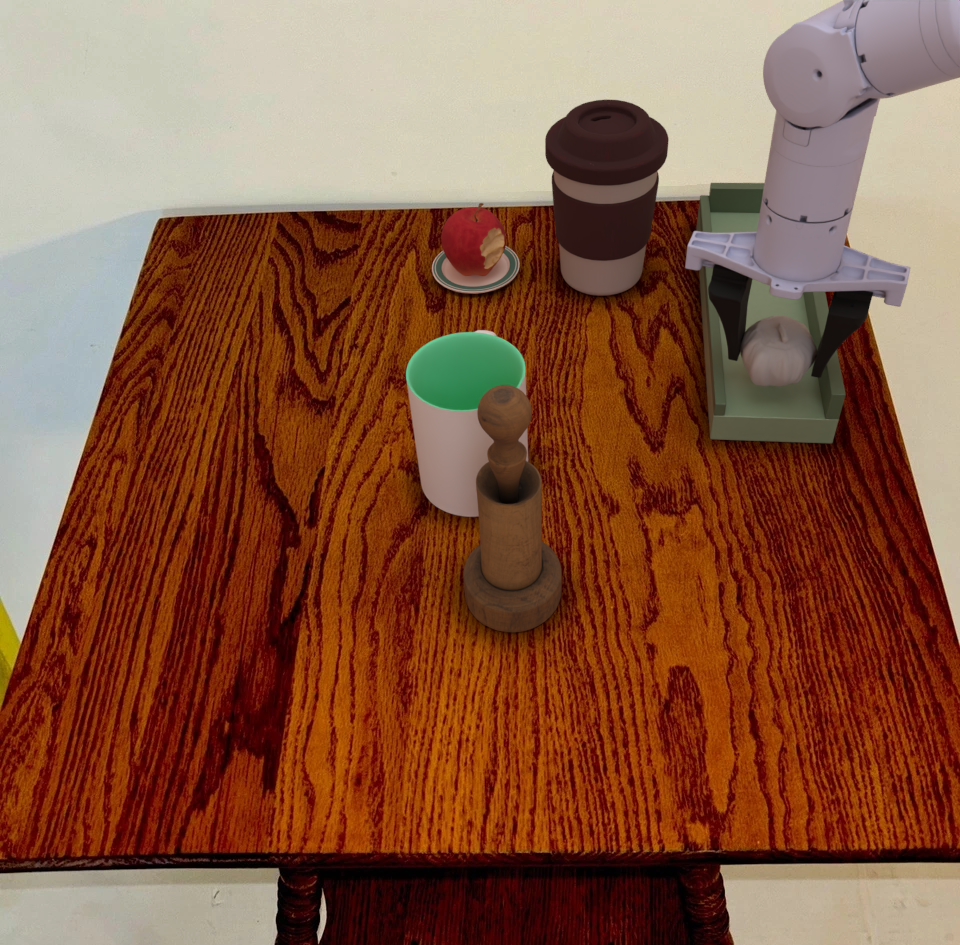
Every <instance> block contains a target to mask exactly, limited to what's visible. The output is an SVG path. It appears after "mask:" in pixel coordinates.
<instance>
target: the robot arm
mask: <svg viewBox="0 0 960 945" xmlns="http://www.w3.org/2000/svg"><path fill="white" fill-rule="evenodd" d="M765 54H766V55H765V57H764V61H763V68H762V69H763V70H762V79H763V85H764V89H765V93H766V95H767V97H768V100H769V102H770V103H771V105H772V107H773V108H774V109H775V116H774V120H773V121H774V122H773V126H772V134H771V140H770V146H769V153H768V159H767V160H768V161H767V165H766V171H765V177H764V182H763V183H764V189H763V196H762V203H761V209H760V215H759V221H758V227H757V232H735V233H709V232H700V231H696V230H694V231H693V232H692V234H691V237H690V239H689V241H688V243H687V247H686V255H685V256H686V257H685V265H684V268H685V269H686V270H691V271H699V270H700V269H701V268H702V266H706V267H711V268H713V273H712V277H711V282H710V284H709V287H708V294H709V299H710V301H711V302H712V304H713V305H714V307H715V309H716V311H717V313H718V315H719V317H720V319H721V322H722V325H723V328H724V332H725V336H726V341H727V347H728V359H729V360H734V361H737V360H738V357H739V354H740V347H741V342H742V339H743V337H744V334H745V330H746V318H747V306H748V300H749V295H750V289H751V284H752V279H755V280H757V281H759V282H762V283H764V284H766V285H769V286H770V290H769V291H770V294H771V295H773V296H776V297H781V298H787V299H792V300H797V299H800V298H801V297H802V294H803V292H825V293H826V292H828V293H829V292H833V295H832V297H831V302H830V306H829V308H828V309H829V312H828V316H827V321H826V326H825V330H824V333H823V335H822V338H821V341H820V344H819V347H818V351H817V355H816V358H815V362H814V365H813V369H812V374H811V376H813V377H818V378H820V377H821V376H822V373H823V371H824V368H825V367H826V365H827V363H828V361H829V360H830V358H831V357H832V355H833V354H834V353H835V351H836V350H837V351H838V350H839V348H840V347H841V345H842V344H843V343H844V342H845V341H846V340H847V339H848V338H849V337H850V336H851V335H852V334H853V333H855V332H856V331H857V330H859V329H860V328H861V327H862V325H863V324H864V323H865V321H866V320H867V317H868V315H869V312H870V306H871V302H872V299H873V297H875V298H880V299H883V303H884V304H885V305H888V306H893V307H897V308H898V307H899V308H900V307H902V304H903V299H904V296H905V293H906V290H907V286H908V283H909V282H908V281H909V278H910V272H911V267H910V266H908V265H907V266H906V265H903V264H898V263H894V262H891V261H887V260H884V259H881V258H879V257H876V256H873V255H871V254H868V253H866V252H863V251H861V250H858V249H856V248H852V247H849V246H847V245H845V243H846V240H847V236H848V231H849V228H850V227H849V226H850V223H851V218H852V214H853V210H854V205H855V201H856V197H857V192H858V188H859V183H860V180H861V175H862V170H863V167H864V162H865V159H866V155H867V151H868V150H867V149H868V146H869V142H870V136H871V133H872V128H873V124H874V120H875V117H876V116H877V112H878V108H879V104H880V101H881V100H883V99H891V98H894V97H898V96H901V95H904V94H908V93H912V92H914V91H918V90H921V89H925V88H929V87H932V86H936V85H940V84H942V83H946V82H949V81H953V80H955V79H959V78H960V0H840V1H839V2H837V3H835V4H833V5H831V6H829V7H827V8H825V9H823V10H822V11H820V12H817V13H816V14H814V15H812V16H810V17H808V18H806V19H804V20H803V21H798V22H795V23H794V24H793V25H791V27H789V28H788V29H786V30H785V31H784V32H783V33H781V34H779V36H777V37H776V38H775V39H774V40H773V42H772V43H771V44H770V46H769V48H768V49H767V51H766V53H765Z"/></svg>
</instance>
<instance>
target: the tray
mask: <svg viewBox="0 0 960 945" xmlns="http://www.w3.org/2000/svg"><path fill="white" fill-rule="evenodd" d="M764 183H765V182H710V183H709V184H710V186H709V192H708V194H707V195H706V194H704V195H703V194H701V195H699V202H698V211H697V220H696V229H695V231H700V232H709V233H735V232H757V227H758V221H759V215H760V209H761V203H762V196H763V189H764ZM712 273H713V268H711V267H706V266H702V268H701V269H700V270H698V275H699V276H698V277H699V291H700V293H699V294H700V306H701V307H700V309H701V321H702V322H701V323H702V336H703V352H704V368H705V383H706V397H707V398H706V399H707V412H708V427H709V439H710V440H720V441H721V440H722V441H746V442H747V441H749V442H773V443H774V442H775V443H779V442H780V443H805V444H833V443H834V439H835V435H836V432H837V427H838V423H839V421H840V418H841V413H842V409H843V406H844V402H845V398H846V389H845V385H844V378H843V374H842V370H841V369H842V368H841V364H840V360H839V355H838V349H837V350H836V351H835V353H834V354H833V355H832V357H831V358H830V360H829V361H828V363H827V365H826V367H825V368H824V371H823V373H822V376H821V377H820V378H818V377H813V376H811V374H812V369H813V365H814V363H813V364H812V366H811V367H810V368H809V369H808V371H807V372H806V373H805V374H804V375H803V376H802V379H801V380H800V381H799V382H798V383H793V384H789V385H785V386H780V387H778V386H765V387H764V386H758V385H756V384H754V383H753V382H752V381H751V378H750V376H749V374H748V372H747V370H746V368H745V365H744V363H743V359H742V357H741V353H740V354H739V357H738V360H737V361H734V360H729V359H728V347H727V341H726V336H725V332H724V328H723V325H722V322H721V319H720V317H719V315H718V313H717V311H716V309H715V307H714V305H713V304H712V302H711V301H710V299H709V294H708V287H709V284H710V282H711V277H712ZM769 290H770V286H769V285H766V284H764V283H762V282H759V281H757V280H755V279H752V284H751V289H750V295H749V300H748V306H747V318H746V330H747V329H748V328H749V327H750V326H751V325H753V324H754V323H756V322H757V321H759V320H762V319H764V318H769V317H771V316H788V317H789V318H791V319H794V320H797V321H798V322H800V323H802V324H804V325H805V326H806V327H807V329H808V331H809V333H810V335H811V336H812V338H813V341H814V344H815V345H816V348H817V351H818V347H819V344H820V341H821V338H822V335H823V333H824V330H825V326H826V321H827V316H828V312H829V309H830V308H829V305H828V300H827V295H826V294H827V293H826V292H803V294H802V297H801V298H800V299H797V300H792V299H787V298H781V297H776V296H773V295H771V294H770V291H769ZM746 330H745V332H746ZM814 362H815V361H814Z"/></svg>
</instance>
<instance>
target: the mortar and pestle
mask: <svg viewBox="0 0 960 945" xmlns="http://www.w3.org/2000/svg"><path fill="white" fill-rule="evenodd" d="M477 414H478V420H479V423H480V425H481V427H482V429H483V430H484V431H485V432H486V433H487V434H488V435H489V436H490V437H491V438H492V439H493V441H494V443H493V444H492V445H491V446H490V447H489V449H488V452H487V456H488V460H489V462H488V463H486V464H485V465H484V466H482V468H481V469H480V470H479V472H478V474H477V477H476V490H477V501H478V513H479V516H478V525H479V526H478V527H479V541H480V542H479V545H477V546H476V547H475V548H474V549H473V550H472V551H471V552H470V554H469V556H468V557H467V559H466V561H465V564H464V568H463V588H464V598H465V602H466V606H467V607H468V610H469V611H470V613H471V614H472V616H473V617H474V618H475V619H476V620H477V621H478V622H480V623H481V624H482V625H484V626H486V627H487V628H490V629H492V630H496V631H498V632H504V633H521V632H522V633H523V632H527V631H530V630H533V629H535V628H537V627H538V626H539V627H540V625H542V624H543V623H545V622H546V621H547V620H548V619H549V618H551V616H552V615H554V613H555V612H556V610H557V608H558V607H559V604H560V601H561V597H562V589H563V588H562V587H563V586H562V585H563V582H562V581H563V580H562V579H563V576H562V574H563V572H562V564H561V562H560V560H559V557H558V556H557V554H556V552H555V551H554V550H553V549H552V548H551V547H550V546H549V545H548V544H547V543H546V542H544V541H543V539H542V537H543V536H542V535H543V534H542V532H543V530H542V529H543V528H542V526H543V525H542V524H543V523H542V521H543V520H542V519H543V518H542V517H543V516H542V515H543V514H542V513H543V511H542V510H543V509H542V508H543V506H542V505H543V503H542V502H543V500H542V499H543V496H542V495H543V481H542V475H541V473H540V471H539V470H538V469H537V468H536V466H535V465H534V464H533V463H531V462H529V461H528V462H527V461H526V457H527V450H526V447H525V446H524V445H523V444H522V443H521V442H519V438H520V437H521V436H522V434H523V433H524V432H525V430H526V429H527V430H528V427H529V426H530V423H531V421H532V418H533V409H532V405H531V402H530V400H529V398H528V396H527V394H526V395H525V394H524V393H523V392H522V391H521V390H520V389H518V388H516V387H514V386H510V385H500V386H496V387H493V388H491V389H490V390H488V391H487V392H486V393H485V394H484V395H483V397H482V398H481V400H480V402H479V405H478V411H477Z"/></svg>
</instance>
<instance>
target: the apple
mask: <svg viewBox="0 0 960 945" xmlns="http://www.w3.org/2000/svg"><path fill="white" fill-rule="evenodd" d="M484 204H485V203H483V202H480V203H478V207H477V206H471V207H464V208H461V209H459V210H456V211H455V212H454V213H452V214H451V215H450V216H449V217H448V218H447V220H446V221H445V223H444V225H443V227H442V230H441V238H440V239H441V248H442V251H441V252H439V253H438V254H437V255H436V256H435V258H434V259H433V262H432V265H431V272H432V276H433V277H434V280H435V281H436V282H437V283H438V284H439V285H441V286H442V287H444V288H445V289H448V290H451V291H453V292H456V293H461V294H483V293H484V294H485V293H489V292H493V291H497V290H498V289H501V288H503V287H505V286H507V285H508V284H510V283H511V282H512V281H513V280H514V279H515V278H516V276H517V275H518V273H519V270H520V259H519V257H518V254H516V252H515V251H514V250H513V249H512V248H510V247H509V246H507V236H506V231H505V230H506V229H505V228H504V225H503V224H502V222H501V220H499V218H498V217H497V216H496V215H495V214H494V213H493V212H492V211H490V210H488V208H487V209H486V208H484V207H483V206H484Z"/></svg>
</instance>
